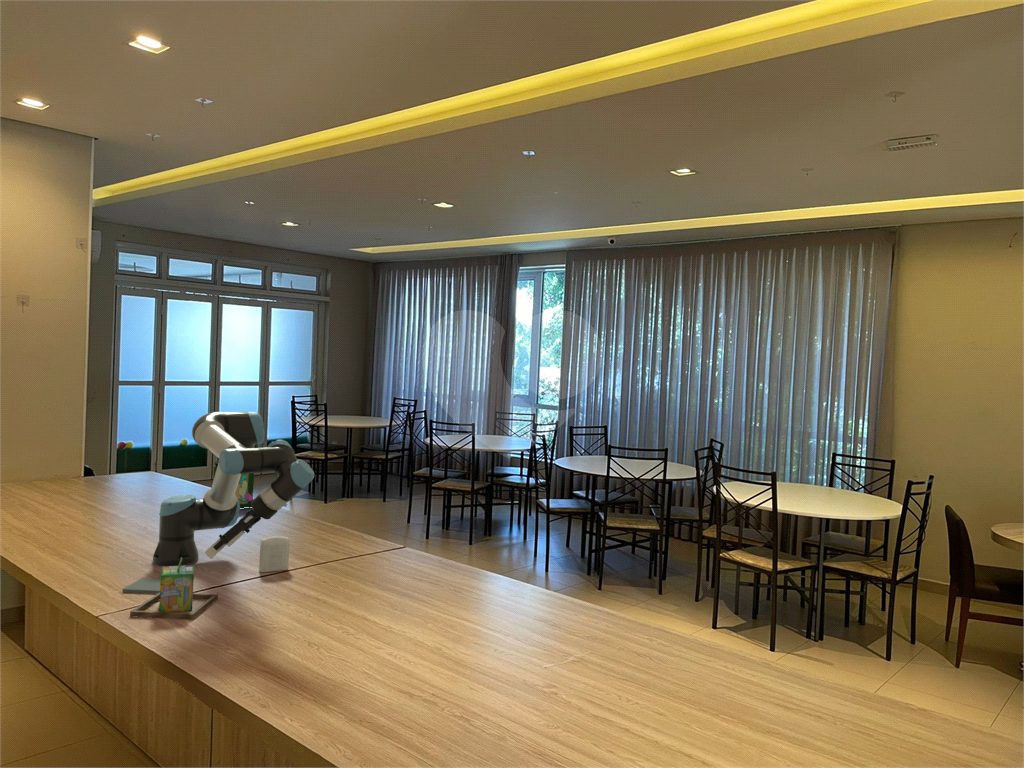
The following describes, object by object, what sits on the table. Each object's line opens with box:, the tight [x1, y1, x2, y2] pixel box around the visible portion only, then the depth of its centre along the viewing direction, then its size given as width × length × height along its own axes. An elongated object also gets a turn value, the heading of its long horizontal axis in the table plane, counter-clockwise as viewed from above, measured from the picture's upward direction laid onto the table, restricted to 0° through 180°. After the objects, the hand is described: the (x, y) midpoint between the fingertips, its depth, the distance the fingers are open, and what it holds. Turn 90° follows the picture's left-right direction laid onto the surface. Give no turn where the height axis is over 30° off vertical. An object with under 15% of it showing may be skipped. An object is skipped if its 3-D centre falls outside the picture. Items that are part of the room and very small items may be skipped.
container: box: [212, 459, 255, 508], centre depth 352 cm, size 15×18×25 cm
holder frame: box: [129, 592, 219, 621], centre depth 212 cm, size 18×18×2 cm
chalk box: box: [158, 557, 195, 613], centre depth 212 cm, size 9×9×15 cm
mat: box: [122, 577, 161, 595], centre depth 229 cm, size 12×12×1 cm
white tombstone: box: [258, 535, 290, 573], centre depth 253 cm, size 10×4×12 cm, turn 123°
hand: (217, 549), depth 211 cm, fingers open, 13 cm apart
